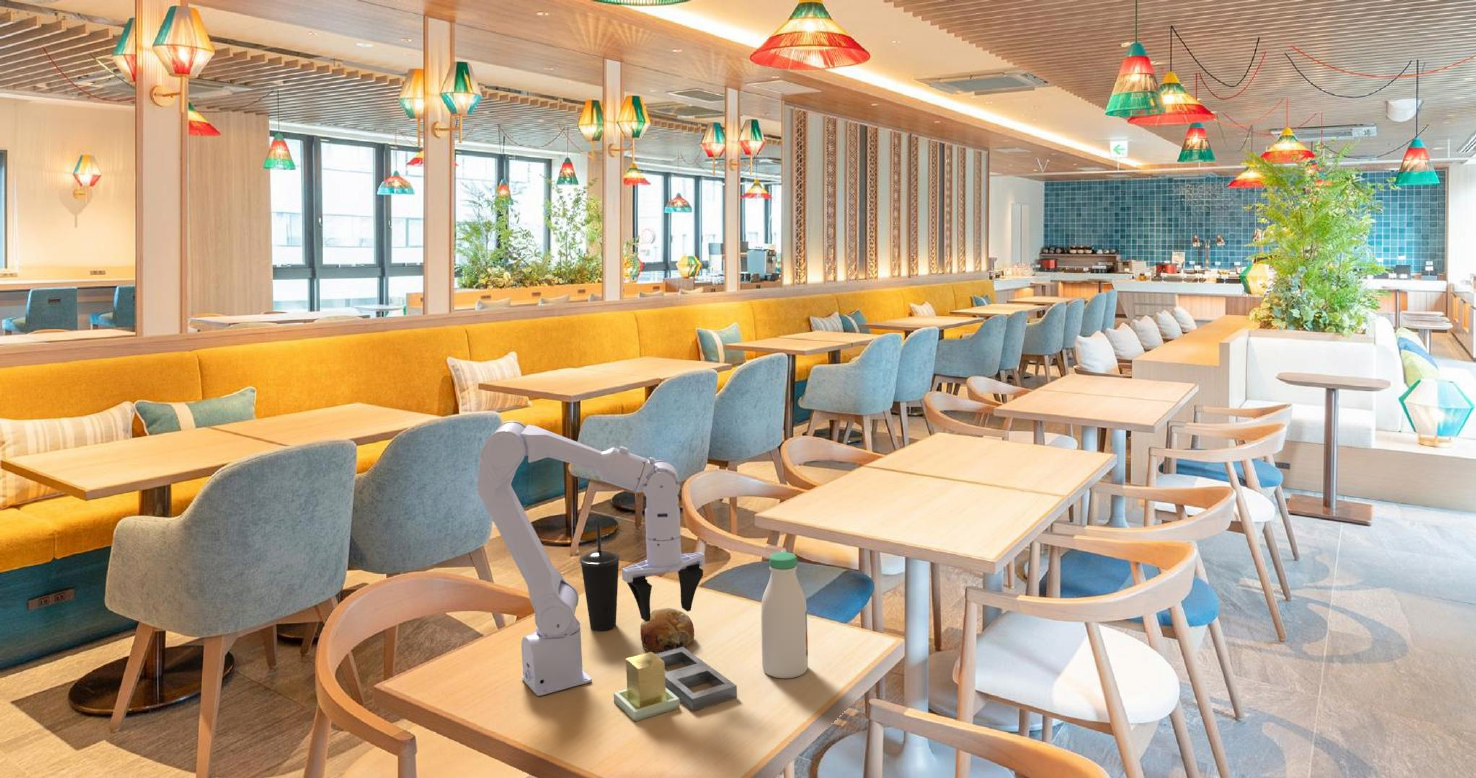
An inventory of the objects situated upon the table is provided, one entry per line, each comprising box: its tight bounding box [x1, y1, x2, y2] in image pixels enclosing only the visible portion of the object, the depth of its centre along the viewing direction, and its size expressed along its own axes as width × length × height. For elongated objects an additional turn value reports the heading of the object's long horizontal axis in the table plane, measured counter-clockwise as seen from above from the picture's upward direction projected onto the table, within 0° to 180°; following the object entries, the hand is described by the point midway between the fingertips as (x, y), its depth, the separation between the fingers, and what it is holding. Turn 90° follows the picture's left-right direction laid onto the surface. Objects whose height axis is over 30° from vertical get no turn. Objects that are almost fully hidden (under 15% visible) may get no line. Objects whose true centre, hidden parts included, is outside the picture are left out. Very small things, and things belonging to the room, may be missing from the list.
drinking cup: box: [578, 523, 621, 632], centre depth 179 cm, size 8×8×20 cm
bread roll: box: [639, 607, 695, 653], centre depth 173 cm, size 10×10×8 cm
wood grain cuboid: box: [625, 651, 666, 709], centre depth 149 cm, size 4×4×7 cm
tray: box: [613, 687, 681, 722], centre depth 149 cm, size 8×8×2 cm
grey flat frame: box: [654, 647, 738, 712], centre depth 156 cm, size 8×18×2 cm, turn 31°
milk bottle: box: [760, 551, 809, 679], centre depth 159 cm, size 8×8×20 cm
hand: (666, 614), depth 158 cm, fingers open, 7 cm apart
